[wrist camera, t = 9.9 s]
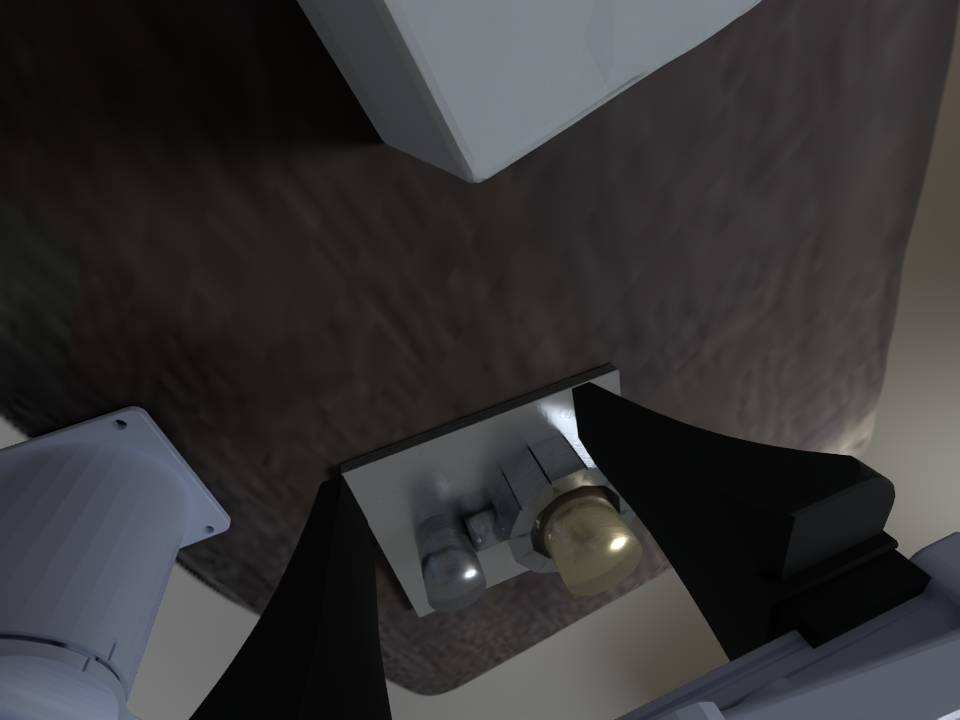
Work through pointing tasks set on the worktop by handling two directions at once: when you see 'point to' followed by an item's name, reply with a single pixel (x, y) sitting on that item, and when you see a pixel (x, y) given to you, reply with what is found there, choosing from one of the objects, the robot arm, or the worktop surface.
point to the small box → (500, 66)
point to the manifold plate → (478, 493)
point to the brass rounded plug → (588, 541)
